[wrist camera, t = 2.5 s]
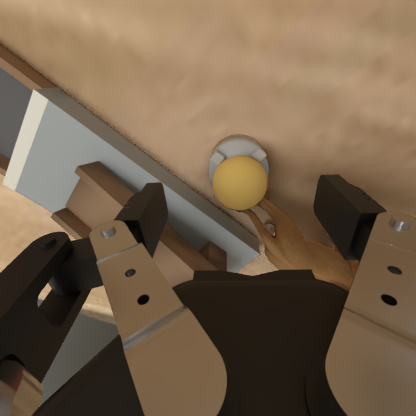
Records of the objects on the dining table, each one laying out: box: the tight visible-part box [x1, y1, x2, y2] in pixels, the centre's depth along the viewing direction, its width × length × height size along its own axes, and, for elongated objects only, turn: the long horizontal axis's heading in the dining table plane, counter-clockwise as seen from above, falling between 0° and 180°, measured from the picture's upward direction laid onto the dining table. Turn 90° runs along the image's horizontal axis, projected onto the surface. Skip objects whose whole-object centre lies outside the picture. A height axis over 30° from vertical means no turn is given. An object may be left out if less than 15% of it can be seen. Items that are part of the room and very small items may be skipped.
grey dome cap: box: [209, 135, 269, 198], centre depth 17 cm, size 5×5×3 cm
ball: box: [212, 156, 267, 210], centre depth 15 cm, size 4×4×4 cm
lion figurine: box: [229, 190, 359, 291], centre depth 17 cm, size 15×5×9 cm, turn 73°
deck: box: [3, 87, 260, 273], centre depth 20 cm, size 21×9×2 cm, turn 51°
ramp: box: [51, 161, 227, 288], centre depth 17 cm, size 14×6×5 cm, turn 51°
